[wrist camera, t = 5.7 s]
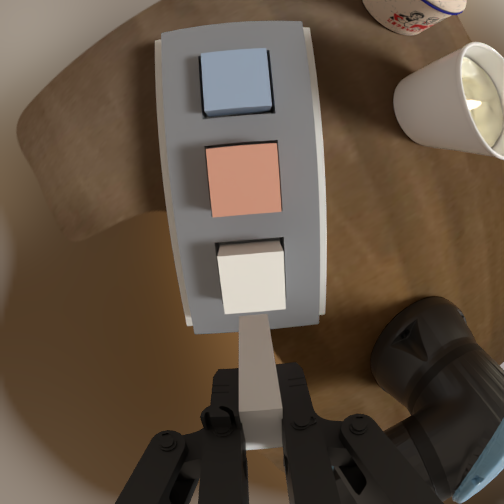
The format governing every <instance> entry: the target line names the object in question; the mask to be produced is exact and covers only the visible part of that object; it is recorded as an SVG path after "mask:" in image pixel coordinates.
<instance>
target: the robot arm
mask: <svg viewBox="0 0 504 504" xmlns="http://www.w3.org/2000/svg"><path fill="white" fill-rule="evenodd" d="M371 371H372V374H373V376H374V378H375V379H376V381H377V383H378V385H379V386H380V387H381V388H382V389H383V390H384V391H385V392H387V393H389V394H390V395H391V396H393V397H394V398H395V399H396V400H397V401H399V402H400V403H401V404H403V405H404V406H405V407H406V408H407V409H408V411H409V412H410V414H411V416H410V417H408V418H407V419H405V420H403V421H401V422H399V423H398V424H396V425H394V426H392V427H390V428H388V429H387V430H385V431H382V429H381V428H380V427H379V426H378V425H377V423H376V422H375V421H374V420H373V419H372V418H371V417H369V416H367V415H364V414H354V415H350V416H349V417H347V418H346V419H344V421H331V420H326V419H323V418H321V417H320V416H318V415H317V414H316V413H315V411H314V409H313V406H312V402H311V398H310V395H309V391H308V387H307V383H306V380H305V376H304V372H303V369H302V368H301V367H300V366H299V365H298V364H297V363H296V362H293V363H285V364H275V358H274V352H273V346H272V339H271V333H270V327H269V321H268V315H267V314H260V315H248V316H239V368H235V369H218V371H217V372H216V374H215V375H214V377H213V387H212V395H211V405H210V406H209V407H207V408H205V409H204V410H203V411H202V413H201V416H200V418H201V421H202V424H203V427H204V428H203V429H201V430H200V431H197V432H194V433H191V434H186V435H181V434H180V433H178V432H176V431H170V430H167V431H162V432H160V433H158V434H156V435H155V436H154V437H153V438H152V440H151V442H150V444H149V445H148V447H147V449H146V450H145V452H144V454H143V456H142V458H141V459H140V461H139V462H138V464H137V466H136V468H135V469H134V471H133V473H132V475H131V476H130V478H129V480H128V482H127V483H126V485H125V487H124V489H123V490H122V492H121V494H120V496H119V497H118V499H117V501H116V502H115V504H189V503H190V501H191V498H192V496H193V493H194V491H195V488H196V486H197V483H198V481H199V478H200V486H199V499H198V504H249V492H248V467H247V458H246V450H253V449H267V448H277V447H283V452H284V466H285V473H286V480H287V487H288V496H289V503H290V504H444V503H443V501H444V500H446V499H447V498H449V497H452V496H453V497H452V499H453V501H456V502H457V503H462V502H464V501H466V500H467V499H469V498H470V497H472V496H473V495H474V494H476V493H477V492H478V491H480V490H481V489H482V488H483V487H485V486H486V485H487V484H488V483H489V482H490V481H491V480H492V479H494V478H495V477H496V476H497V475H498V474H499V473H500V472H501V471H502V470H503V469H504V370H503V369H502V368H501V367H500V366H499V365H498V364H497V363H496V362H495V361H494V360H493V359H492V358H491V357H490V356H489V355H488V354H487V353H486V352H485V351H484V350H483V349H482V348H481V347H480V346H479V345H478V344H477V343H476V341H475V339H474V336H473V334H472V333H471V331H470V329H469V328H468V326H467V323H466V319H465V317H464V315H463V313H462V312H461V311H460V309H459V308H458V307H456V306H455V305H454V304H453V303H452V302H450V301H449V300H447V299H445V298H442V297H430V298H426V299H423V300H420V301H418V302H416V303H414V304H412V305H410V306H409V307H407V308H406V309H404V310H403V311H402V312H401V313H399V314H398V315H397V316H396V317H395V318H394V319H393V320H392V321H391V322H390V323H389V324H388V325H387V327H386V328H385V329H384V331H383V332H382V333H381V335H380V336H379V338H378V340H377V342H376V344H375V346H374V349H373V352H372V355H371Z"/></svg>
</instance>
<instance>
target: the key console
mask: <svg viewBox="0 0 504 504" xmlns="http://www.w3.org/2000/svg"><path fill="white" fill-rule="evenodd" d="M253 48H266V51H267V60H268V70H269V80H270V90H271V101H272V107H271V108H270V110H269V112H263V113H247V114H235V115H224V116H215V117H209V116H208V115H207V114H206V113H205V111H204V97H203V82H202V65H201V53H208V52H216V51H226V50H237V49H253ZM155 81H156V104H157V121H158V134H159V147H160V157H161V167H162V177H163V186H164V194H165V202H166V209H167V217H168V224H169V230H170V237H171V243H172V249H173V256H174V262H175V267H176V273H177V278H178V284H179V289H180V294H181V299H182V304H183V309H184V313H185V318H186V323H187V326H193V328H194V333H195V334H210V333H228V332H239V316H248V315H260V314H267V315H268V321H269V327H270V329H277V328H287V327H296V326H305V325H313V324H319V315H324V314H325V304H326V263H327V229H326V189H325V167H324V150H323V136H322V123H321V112H320V102H319V92H318V84H317V75H316V67H315V60H314V53H313V46H312V39H311V33H310V28H306V27H303V24H302V21H249V22H234V23H223V24H213V25H205V26H198V27H192V28H186V29H180V30H174V31H169V32H165V33H161V39H160V40H155ZM270 143H277V152H278V166H279V180H280V196H281V212H272V213H259V214H247V215H236V216H225V217H214V218H213V216H212V207H211V197H210V188H209V178H208V167H207V156H206V149H211V148H220V147H230V146H241V145H254V144H270ZM276 240H279V242H280V244H281V246H282V249H283V251H284V274H285V301H286V309H282V310H271V311H260V312H248V313H235V314H225V312H224V305H223V297H222V290H221V282H220V275H219V267H218V259H217V256H218V252H219V248H220V245H229V244H240V243H252V242H264V241H276Z"/></svg>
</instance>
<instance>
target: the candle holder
mask: <svg viewBox="0 0 504 504" xmlns="http://www.w3.org/2000/svg"><path fill="white" fill-rule="evenodd" d="M393 105H394V111H395V115H396V118H397V121H398V123H399V125H400V126H401V128H402V130H403V131H404V132H405V134H406V135H407V136H408V137H409V138H410V139H412V140H413V141H414V142H416V143H418V144H420V145H422V146H426V147H432V148H440V149H448V150H455V151H462V152H469V153H475V154H481V155H486V156H492V157H496V158H499V159H502V160H504V58H503V57H502V56H501V55H500V54H499V53H498V52H497V51H496V50H494V49H493V48H492V47H490V46H488V45H486V44H484V43H480V42H471V43H468V44H466V45H465V46H464V47H462V48H460V49H458V50H456V51H454V52H452V53H450V54H448V55H446V56H444V57H442V58H440V59H438V60H436V61H434V62H432V63H430V64H428V65H426V66H424V67H423V68H421V69H419V70H417V71H415V72H413V73H412V74H410V75H408V76H406V77H405V78H404V79H402V80H401V81H400V82H399V84H398V85H397V87H396V89H395V92H394V98H393Z"/></svg>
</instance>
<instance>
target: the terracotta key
mask: <svg viewBox="0 0 504 504" xmlns="http://www.w3.org/2000/svg"><path fill="white" fill-rule="evenodd" d="M206 156H207V167H208V178H209V188H210V197H211V207H212V216H213V218H214V217H225V216H236V215H247V214H259V213H272V212H281V196H280V180H279V166H278V152H277V143H270V144H254V145H241V146H230V147H220V148H211V149H206Z"/></svg>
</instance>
